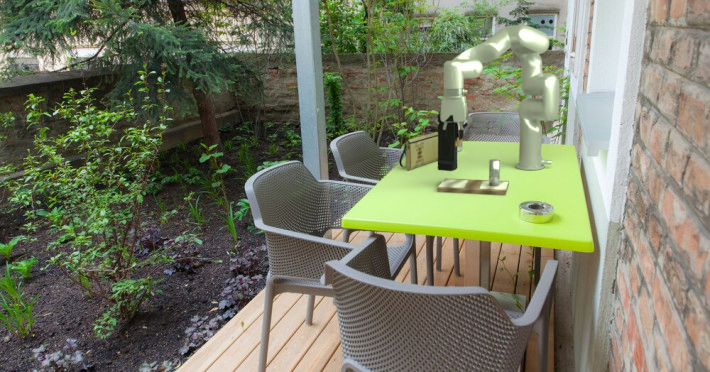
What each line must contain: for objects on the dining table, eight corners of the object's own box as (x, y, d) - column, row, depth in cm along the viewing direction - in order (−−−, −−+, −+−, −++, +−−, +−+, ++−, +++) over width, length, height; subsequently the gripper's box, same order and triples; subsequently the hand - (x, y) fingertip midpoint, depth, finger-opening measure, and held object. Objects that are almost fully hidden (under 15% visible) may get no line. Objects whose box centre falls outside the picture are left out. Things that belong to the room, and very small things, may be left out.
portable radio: (460, 168, 203) (461, 107, 197) (455, 171, 198) (456, 108, 192) (442, 167, 207) (442, 106, 201) (436, 170, 202) (436, 108, 196)
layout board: (508, 184, 203) (508, 180, 202) (505, 195, 188) (505, 191, 188) (445, 181, 212) (445, 177, 211) (437, 191, 198) (437, 187, 197)
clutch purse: (429, 158, 258) (429, 130, 254) (441, 160, 254) (441, 131, 250) (395, 170, 237) (394, 139, 233) (407, 172, 232) (407, 140, 228)
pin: (499, 183, 198) (500, 159, 195) (498, 186, 194) (499, 161, 192) (489, 183, 199) (489, 159, 197) (488, 186, 196) (488, 161, 193)
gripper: (477, 91, 194) (476, 138, 198) (434, 92, 200) (434, 137, 204) (474, 93, 187) (474, 141, 191) (430, 94, 193) (430, 140, 197)
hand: (453, 139), depth 198 cm, fingers open, 4 cm apart
